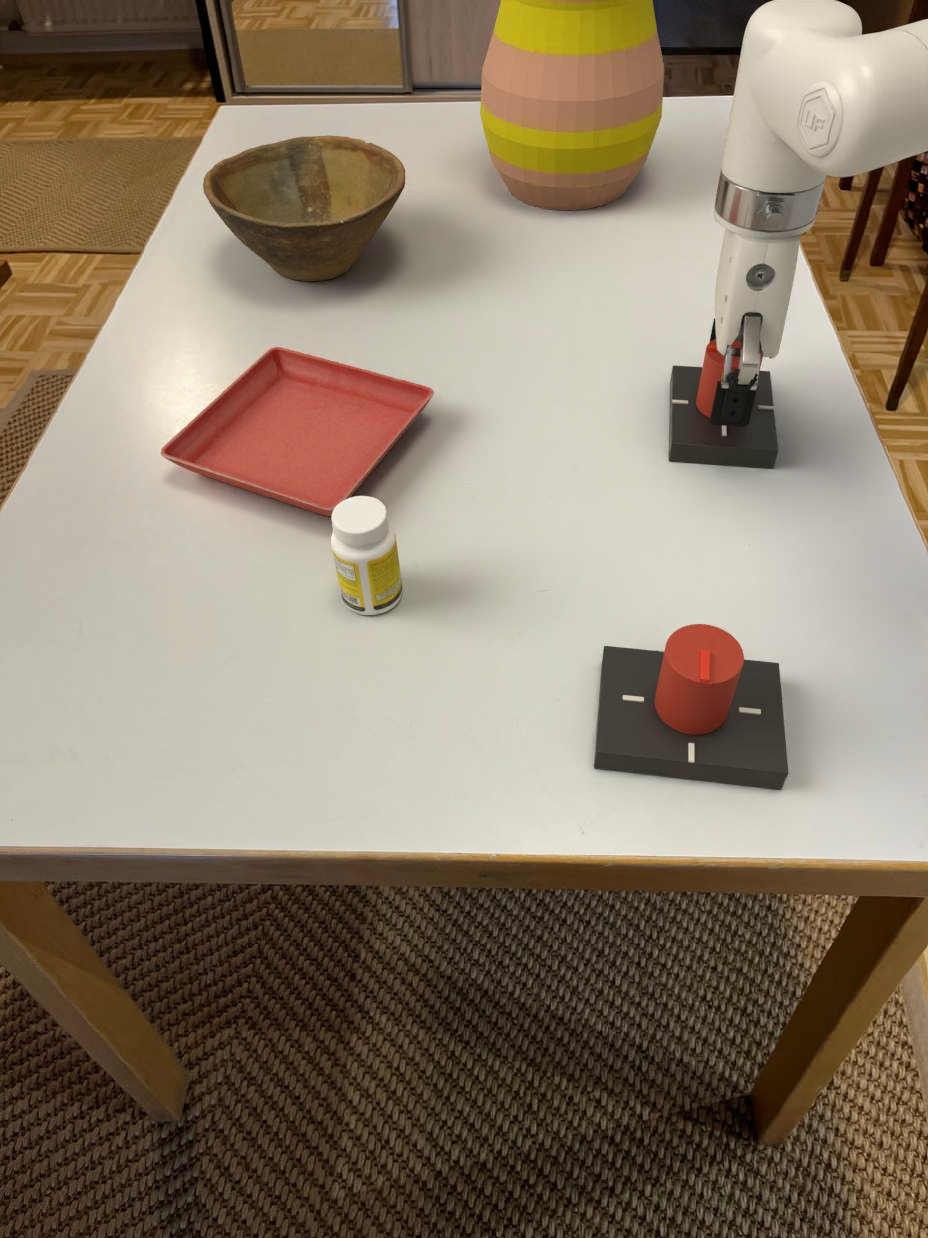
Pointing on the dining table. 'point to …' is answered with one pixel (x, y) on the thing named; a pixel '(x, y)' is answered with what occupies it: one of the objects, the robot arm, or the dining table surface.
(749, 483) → the dining table surface
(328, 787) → the dining table surface
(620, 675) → the dark tick-marked fixture
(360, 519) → the supplement bottle
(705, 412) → the red cylindrical knob
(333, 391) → the plant saucer
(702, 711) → the near red knob
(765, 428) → the dark square slab
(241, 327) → the dining table surface
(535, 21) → the vase
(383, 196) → the bowl
